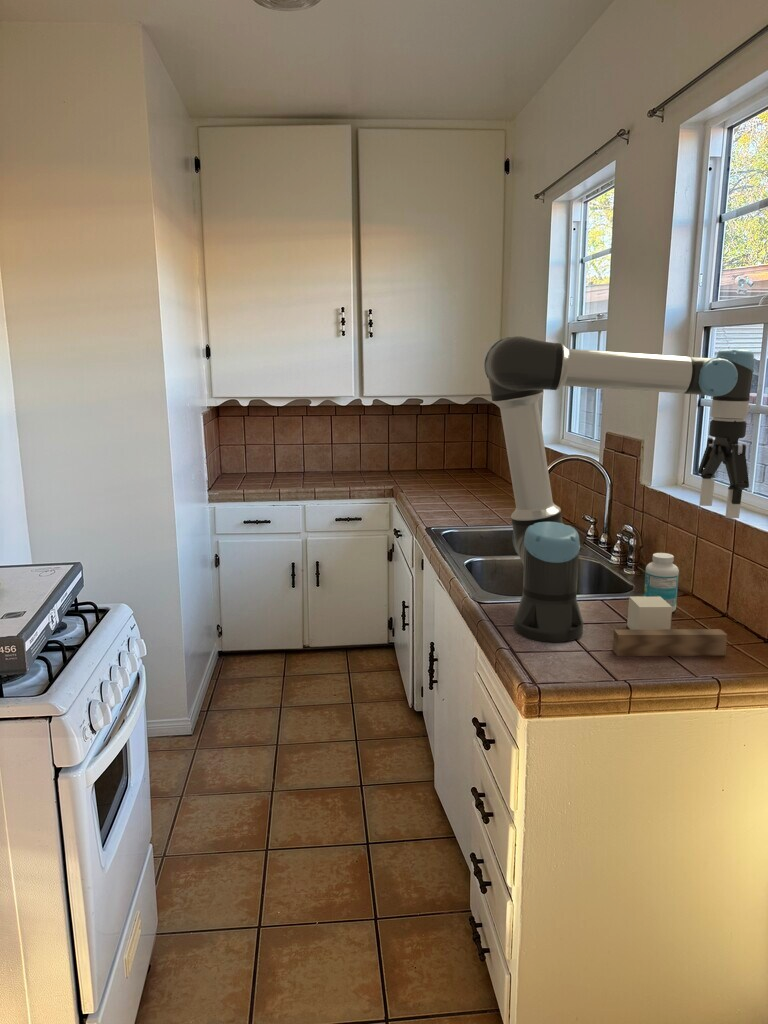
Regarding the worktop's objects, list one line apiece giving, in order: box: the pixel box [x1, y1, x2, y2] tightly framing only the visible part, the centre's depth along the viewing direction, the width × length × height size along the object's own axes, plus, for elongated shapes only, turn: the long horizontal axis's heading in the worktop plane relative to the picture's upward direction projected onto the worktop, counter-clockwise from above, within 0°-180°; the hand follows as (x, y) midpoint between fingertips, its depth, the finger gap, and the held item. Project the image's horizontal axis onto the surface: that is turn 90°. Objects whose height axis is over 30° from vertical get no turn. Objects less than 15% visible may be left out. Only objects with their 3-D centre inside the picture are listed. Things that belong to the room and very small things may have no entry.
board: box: [612, 628, 728, 657], centre depth 150 cm, size 22×3×4 cm, turn 90°
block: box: [626, 596, 673, 630], centre depth 162 cm, size 7×7×7 cm
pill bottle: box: [643, 552, 680, 613], centre depth 175 cm, size 8×7×14 cm
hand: (718, 511), depth 170 cm, fingers open, 13 cm apart
